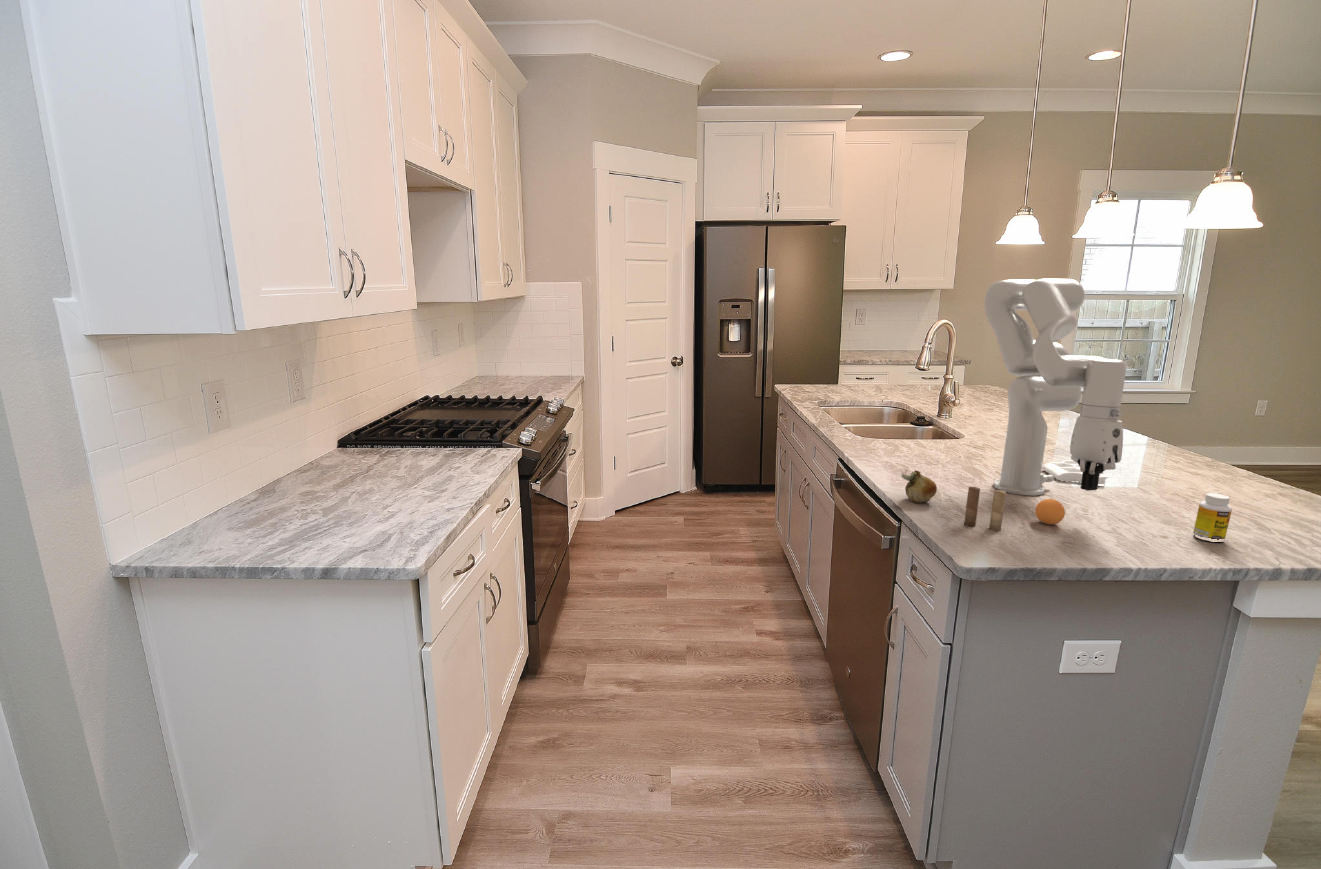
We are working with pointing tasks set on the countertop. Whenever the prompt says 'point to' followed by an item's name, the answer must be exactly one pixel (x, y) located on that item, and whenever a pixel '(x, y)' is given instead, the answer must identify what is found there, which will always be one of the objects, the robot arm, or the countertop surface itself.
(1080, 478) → the white egg tray
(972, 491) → the walnut pin
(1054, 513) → the ball
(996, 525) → the maple pin
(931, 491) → the onion
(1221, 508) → the supplement bottle
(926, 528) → the countertop surface
